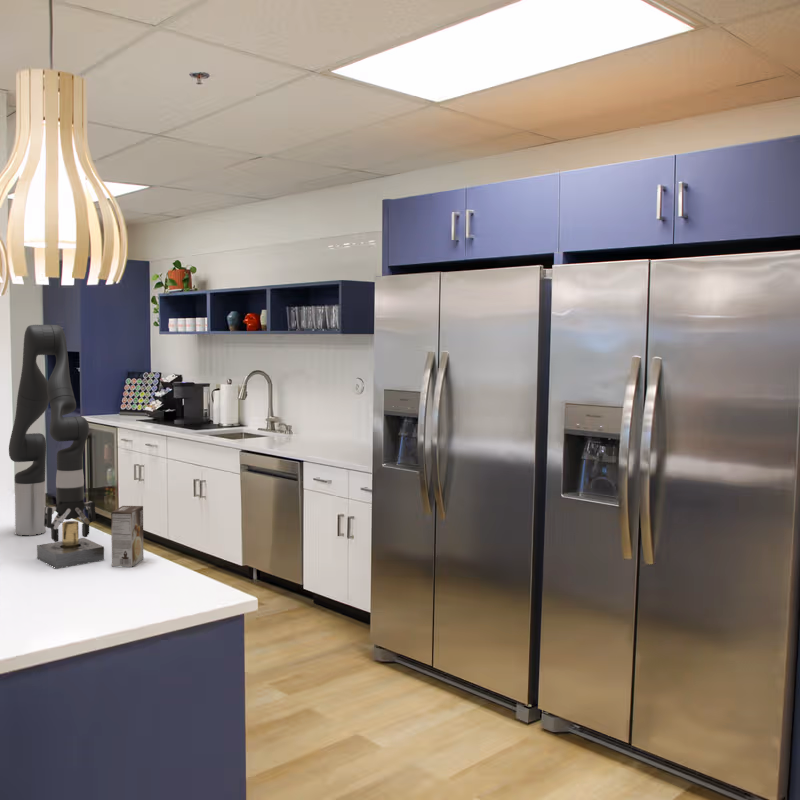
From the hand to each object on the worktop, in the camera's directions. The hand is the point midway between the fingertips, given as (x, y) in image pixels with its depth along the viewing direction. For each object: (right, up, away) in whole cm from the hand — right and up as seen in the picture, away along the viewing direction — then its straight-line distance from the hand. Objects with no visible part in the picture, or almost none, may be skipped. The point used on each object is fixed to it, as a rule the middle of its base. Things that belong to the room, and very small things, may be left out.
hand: (70, 538), depth 235 cm
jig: (0, -6, 0) cm, 6 cm away
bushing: (0, -5, 0) cm, 5 cm away
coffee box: (+18, -7, -2) cm, 19 cm away
